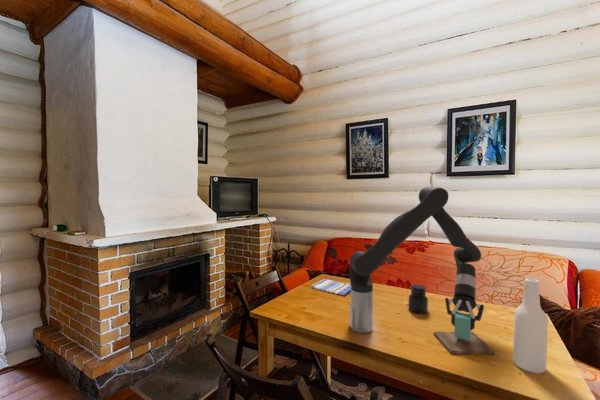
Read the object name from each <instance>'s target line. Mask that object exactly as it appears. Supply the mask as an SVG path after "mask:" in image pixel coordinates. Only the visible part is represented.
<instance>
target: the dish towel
mask: <svg viewBox="0 0 600 400" xmlns="http://www.w3.org/2000/svg"><path fill="white" fill-rule="evenodd" d="M313 288H314V290H316V289H317V290H316V291H320V290H321V292H324V291H326V292H325V293H328V292H330V293H329V294H332V293H335V294H334V295H336V294H339V295H338V296H340V295H343V296H342V297H346V296H348V295H349V294H351V293H350V292H351V283H348V282H340V281H337V280H333V279H328V278H324V279H322V280H320V281H318V282H315V283H313V284H312V285H311V289H313ZM347 294H348V295H347ZM345 295H346V296H345Z"/></svg>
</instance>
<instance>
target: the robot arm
mask: <svg viewBox="0 0 600 400" xmlns="http://www.w3.org/2000/svg"><path fill="white" fill-rule="evenodd" d="M418 200H419V203H418V204H417V205H416V206H414V208H412V209H409V210H407V211H405V212H404V213H401V214H400V215H398V216H397V217H395V218H394V219H393V220H392V221H391V222H390V223H388V225H386V226H385V227H384V228H383V230H382V232H381V234H380V236H379V237H378V239H377V241H376V242H375V244H374V245H372V246H371V247H370V248H369V249H368V250H367V251H366V252H365V251H363V250H358V251H355V252H353V253H352V254H351V257H350V258H349V283H350V284H351V293H350V304H349V326H350V329H351V332H356V333H358V334H369V333H370V332H372V331H373V306H374V305H373V303H374V301H373V299H374V296H373V295H374V293H373V292H374V290H373V289H374V288H373V287H374V285H373V281H372V279H371V275H372V274H373V273H374V272H375V271H376V269H378V267H379V266H380V265H381V264H382V263H383V262H384V260H385V259H386V258H387V257H388V256H389V255H390V254H391V253H393V251H394V250H396V249H397V248H398V247H399V246H400V245H401V244H402V243H403V242H404V241H405V240H407V239H408V238H409V237H410V236H411V235H412V234H413V233H414V232H415V231H416V230H417V229H418V228H420V227H421V225H422V224H424V223H425V222H426V221H427V220H428V219H429V218H430V217H432V218H433V219H434V221H435V222H436V223H437V225H438V226H439V228H440V229H441V231H442V232H443V234H444V235H445V237H446V239H448V241H449V243H450V245H451V246H453V247H455V248H456V249H454V251H453V257H454V261H455V265H456V275H455V280H454V292H453V293H454V294H453V297H452V298H449V297H448V298H447V297H446V298H445V299H444V301H445V307H446V314H448V315H449V316H450V317H451V320H450V322H451V325H452V326H453V327H455V314H456V312H465V313H467V314H469V315H471V324H470V330H471V331H473V330H475V324H476V321H478V322H480V321H482V316H483V313H484V310H485V306H484V304H478V303H477V301H476V289H477V288H476V267H475V266H474V265H473V264H470V263H476V262H479V261H480V260H481V259H482V253H481V250H480V248H479V247H478V245H476V244H475V243H474V242H472V240H470V239H469V238H468V237H467V235H466V234H465V232H464V231H463V228H462V227H461V226H460V224H459V223H458V222H457V221H456V220H455V219H454V218H453V217H452V216H451V215H450V214H449V213H448V212H447V211H446V210H445V208H444V207H445V205H446V204H447V203H448V201H449V193H448V191H447V190H446V189H445V188H443V187H440V186H439V187H438V186H426V187H423V188H421V189H420V191H419V193H418ZM452 303H453V305H454V308H453V310H451V307H450V306H451V305H452ZM475 308H476V309H477V315H475V314H474V309H475Z"/></svg>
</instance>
